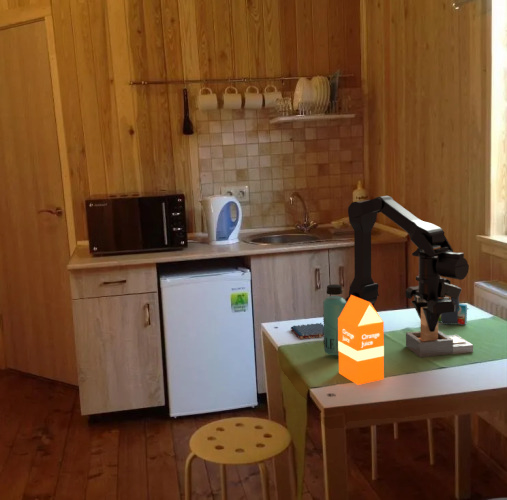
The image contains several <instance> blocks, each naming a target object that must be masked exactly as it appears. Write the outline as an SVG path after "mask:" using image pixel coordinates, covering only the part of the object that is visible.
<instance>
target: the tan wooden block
mask: <svg viewBox="0 0 507 500" xmlns="http://www.w3.org/2000/svg"><path fill="white" fill-rule="evenodd" d="M423 308H428V307H421V320H420V331H421V333H420V339H422V340H423V341H430V340H438V330H439V321H438V322H437V325H436V328H435V330H434V332H430V330H429V327H428V324H427V321H426V318H425V314H424V311H423Z"/></svg>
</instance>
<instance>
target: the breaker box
mask: <svg viewBox="0 0 507 500" xmlns="http://www.w3.org/2000/svg"><path fill="white" fill-rule="evenodd" d="M420 333H421V330H420V331H410V332H407V331H406V333H405V347H406V348H408V349H409V350H410V351H411V352H413V354H415V355H416V356H417V357H419V358H428V357H429V358H430V357H437V356H446V355H457V354H466V353H467V354H468V353H474V344H472V343H471V342H470V341H468V340H466V339H464V338H463V337H461V336H459V335H458V334H449V335H447V334H445V333H443V332H442V331H440V330H439V329H438V339H439V340H430V341H421V340H420V339H419V338H420Z"/></svg>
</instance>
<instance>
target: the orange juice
mask: <svg viewBox="0 0 507 500" xmlns="http://www.w3.org/2000/svg"><path fill="white" fill-rule="evenodd" d="M384 323H385V322H384V321H383V319H382V318H381V316H380V314H379V313H378V312H377V310H376V309H375V307H373V306H372V304H371V303H370V302H368V301H365V300H363V299H360V298H358V297H355V296H353V295H351V296H350V298H349V300H348V302H347V304H346V305H345V307H344V309H343V311H342V313H341V315H340V316H339V318H338V351H339V355H338V373H339V374H340V375H341V376H343V377H344V378H346V379H347V380H349V381H351V382H353V383H354V384H356V385H357V386H360V385H363V384H368V383H372V382H377V381H381V380H385V373H384V372H385V370H384V368H385V367H384V366H385V365H384V364H385V363H384V360H385V358H384V357H385V342H384V337H385V336H384V335H385V333H384V331H385V329H384V327H385V326H384V325H385V324H384Z"/></svg>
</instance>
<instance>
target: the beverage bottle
mask: <svg viewBox="0 0 507 500" xmlns="http://www.w3.org/2000/svg"><path fill="white" fill-rule="evenodd" d="M326 294H327V295H331V296H327V297H326V298H324V300H323V301H322V305H323V314H322V317H323V318H322V320H323V323H322V324H323V326H324V330H323V332H324V335H323V336H324V337H323V350H324V352H325V354H327V355H330V356H339V351H338V318H339V316H340V315H341V313H342V311H343V309H344V307H345V305H346V299H345V298H344V297H342V296H339V295H341V294H343V287H342V285H341V284H336V283H335V284H334V283H333V284H328V285H327V286H326Z"/></svg>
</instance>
